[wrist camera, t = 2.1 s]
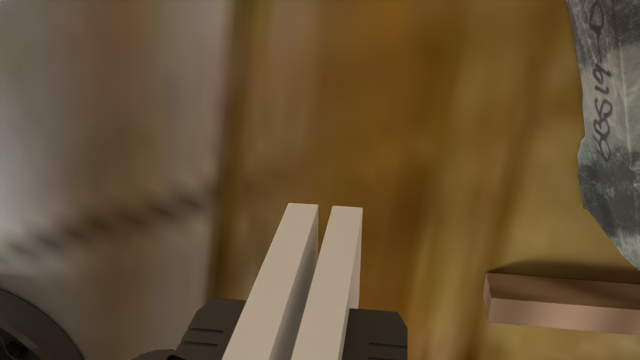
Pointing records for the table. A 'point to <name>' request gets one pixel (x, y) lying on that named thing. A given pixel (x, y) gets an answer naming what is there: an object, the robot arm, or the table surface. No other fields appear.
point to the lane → (562, 303)
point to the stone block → (610, 116)
